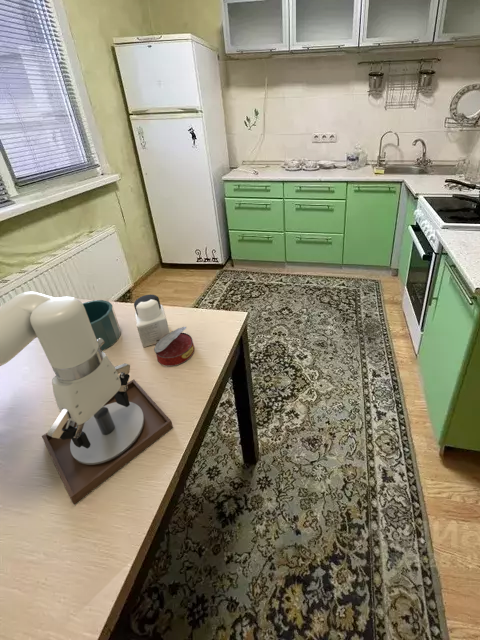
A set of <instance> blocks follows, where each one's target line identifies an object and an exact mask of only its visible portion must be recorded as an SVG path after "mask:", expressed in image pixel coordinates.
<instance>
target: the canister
mask: <svg viewBox="0 0 480 640" xmlns="http://www.w3.org/2000/svg"><path fill="white" fill-rule="evenodd" d="M82 303H83V305H84V308H85V310H86V313H87V316H88V318H89V321H90V324H91V326H92V329H93V331H94V334H95V337H96V339H97V340H98V339H99V338H102V339H103V340H104V344H102V346H101V350H102V351H104V350H106V349H108V348H111V346H113V345H114V344H115V343H116V342H117V341H118V340H119V339H120V336H121V333H122V332H121V327H120V324H119V321H118V318H117V315H116V312H115V309H114V306H113V304H112V303H111V302H110V301H109V300H103V299H97V300H96V299H95V300H90V301H85V302H82Z"/></svg>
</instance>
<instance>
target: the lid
mask: <svg viewBox="0 0 480 640" xmlns="http://www.w3.org/2000/svg"><path fill="white" fill-rule="evenodd" d="M129 403H130V405H129V406H128V407H125V406H122V405H120V404H118V403H117V402H114V403H111V404H108V405H105V406H103V407H102V408H101V409H100V410H98V411H97V412H96V413H95V414H94V415H93V416H92V417H91V418H90V419H89V420H88V421H86V422H85V423H84V426H83V429H82V431H83V432H85V434H86V436H87V438H88V440H89V442H90V444H91V445H90V447H89V448H88V449H87V448H85V447H83V446H81V447H80V448H79V447H77V446H76V445H75V444H74V443H73V441H72V439H71V443H70V450H71V453H72V456H73V457H74V459H75V460H77V461H78V462H80V463H82V464H87V465H95V464H100V463H104V462H107V461H109V460H112V459H114V458H115V457H117V456H119V455H120V454H122V453H123V452H124V451H126V450H127V449H128V448H129V447H130V446H131V445H132V444H133V443H134V442H135V441H136V439H137V438H138V436H139V435H140V433H141V431H142V428H143V425H144V415H143V412H142V410H141V408H140V407H139V406H138V405H136V404H135V403H132V402H129Z"/></svg>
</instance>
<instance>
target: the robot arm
mask: <svg viewBox="0 0 480 640" xmlns="http://www.w3.org/2000/svg"><path fill="white" fill-rule="evenodd" d="M83 303H84V302H82V301H81V300H80V299H79V298H77V297H75V296H66V295H65V296H58V297H56V296H52V295H49V294H45V293H42V292H37V291H24V292H21V293H17V294H16V295H15V296H12V297H11V298H10V299H9V300H7V301H6V302H4V303H2V304H1V305H0V367H3V366H4V365H5V364H7V363H9V362H10V361H12V359H14V358H15V357H17V356H18V354H19V353H20V352H22V351H23V350H24V349H25V348H26V347H27V346H29V344H30V343H31V342H33V341H34V340H35V339H38V341H39V344H40V346H41V348H42V350H43V352H44V354H45V356H46V358H47V361H48V362H49V365H50V366H51V369H52V371H53V374H54V375H55V376H54V377H52V380H51V385H52V391H53V396H54V399H55V403H56V406H57V408H58V410H59V414H58V416H57V417H56V419H55V420H54V422H53V423H52V425H51V426H50V428H49V429H48V430H47V432H46V433H47V435H49V436H51V437H53V438H58V439H63V440H66V439H70V438H71V439H72V441H73V443H74V444H75V445H76V446H77V447H79V448H80V447H81V446H83V447H85V448H87V449H88V448H89V447H90V445H91V444H90V442H89V440H88V438H87V436H86V434H85V432H83V431H82V429H83V426H84V423H85V422H86V421H88V420H89V419H90V418H91V417H92V416H93V415H94V414H95V413H96V412H97V411H98V410H100V409H101V408H102V407H103V406H104V405H105V404H106V403H107V402H108V401H109V400H110V399H111V398H112V397H113V396H114V397H115V400H116V402H117V403H118V404H120V405H122V406H125V407H128V406H129V405H130V403H129V400H128V395H127V392H126V390H127V389H128V386H126V385H127V383H128V382H129V380H130V371H131V364H129V363H125V362H123V363H122V364H119V365H116V366H115V365H114V364H113V362H112V360H111V359H110V358H109V356H108V355H107V354H106V353H105V352H104V351H103V350H101V346H102V344H104V340H103V339H102V338H99V339H98V340H97V339H96V337H95V334H94V331H93V329H92V326H91V324H90V321H89V318H88V316H87V313H86V310H85V308H84V305H83ZM67 420H68V423H67V426H66V429H62V428H63V426H64V425H65V423H66V422H67ZM75 423H77V425H76V428H75V427H74V424H75Z"/></svg>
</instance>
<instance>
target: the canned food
mask: <svg viewBox="0 0 480 640" xmlns="http://www.w3.org/2000/svg"><path fill="white" fill-rule="evenodd" d="M186 329H187V326H181V327H178V328H176V329H174V330H172V331H170V333H169V334H167V335H166V336H164V337H163V338H162V339H160V340H159V341H158V342H157V343H156V344H155V345H154V348H153V351H154V353H155V356H156V360H157V362H158V363H159V364H160V365H161V366H165V367H176V366H179V365H182V364H183V363H186V362H187V361H188V360H190V359H191V358H192V356H193V354H194V352H195V346H194V345H195V344H194V341H193V336H192V335H190V334H188V333H186V332H184V331H185V330H186Z"/></svg>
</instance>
